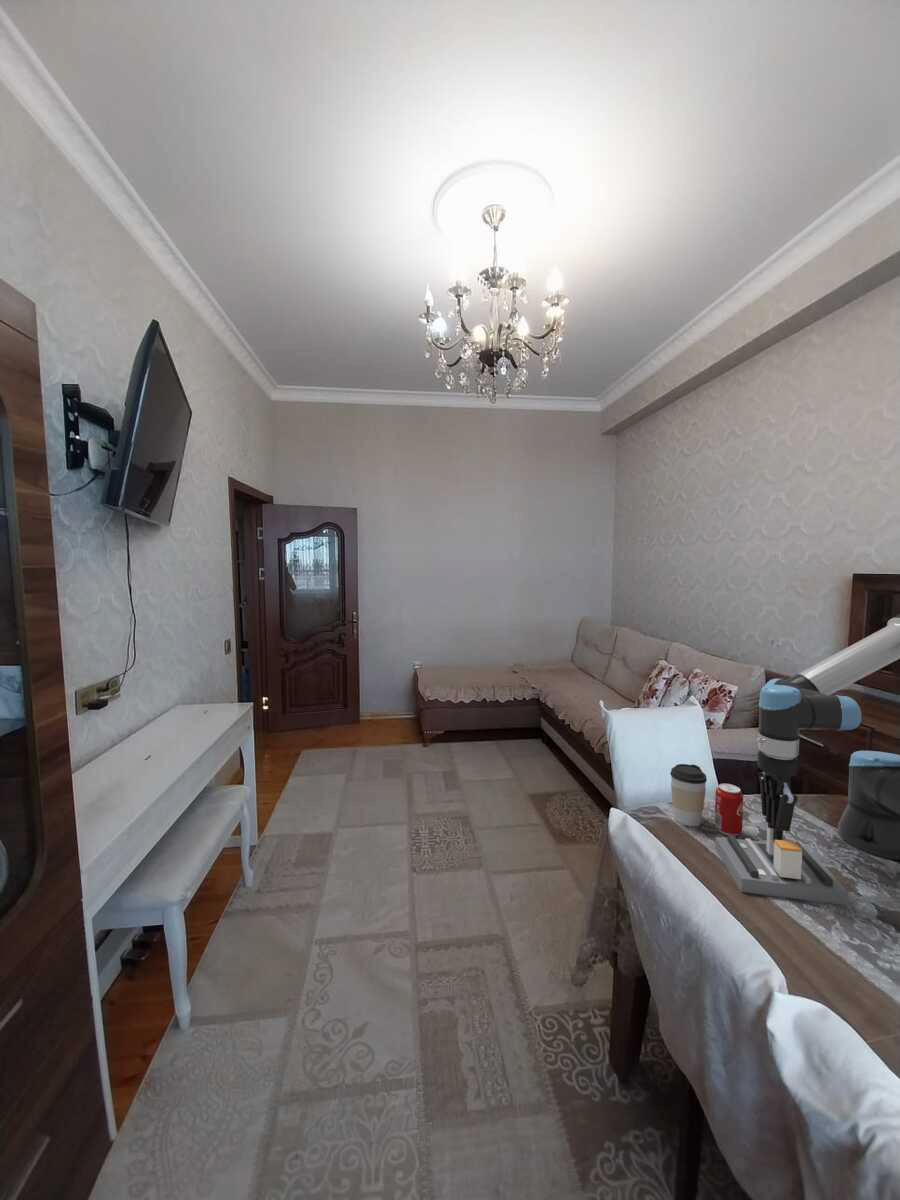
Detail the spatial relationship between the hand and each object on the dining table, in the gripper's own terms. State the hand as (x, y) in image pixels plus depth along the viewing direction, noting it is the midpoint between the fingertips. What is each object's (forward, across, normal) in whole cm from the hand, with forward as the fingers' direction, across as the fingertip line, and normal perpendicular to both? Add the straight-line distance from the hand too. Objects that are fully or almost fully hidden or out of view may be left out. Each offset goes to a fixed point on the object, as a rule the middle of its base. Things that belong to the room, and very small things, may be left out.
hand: (774, 852), depth 107 cm
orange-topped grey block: (+1, +6, 0) cm, 6 cm away
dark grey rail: (+4, +1, -7) cm, 9 cm away
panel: (+4, +1, 0) cm, 4 cm away
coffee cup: (+4, -20, -13) cm, 24 cm away
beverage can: (+4, -16, -4) cm, 17 cm away
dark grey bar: (+4, +2, +7) cm, 8 cm away
